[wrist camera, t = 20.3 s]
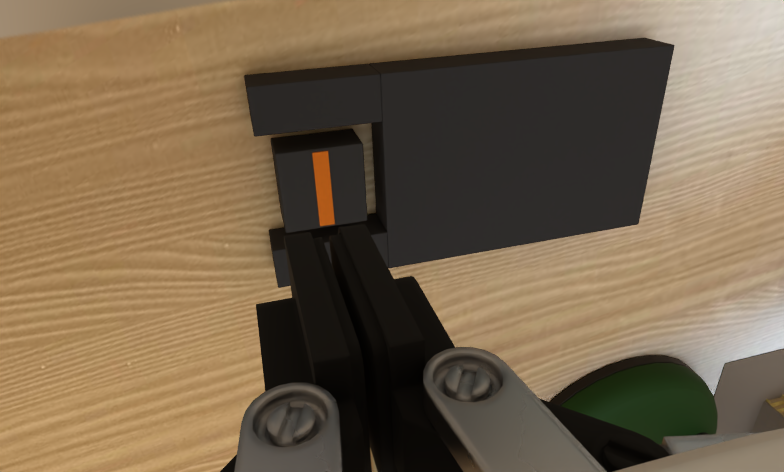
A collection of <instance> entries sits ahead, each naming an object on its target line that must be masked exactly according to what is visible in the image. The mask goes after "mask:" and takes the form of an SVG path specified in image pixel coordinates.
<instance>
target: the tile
mask: <svg viewBox="0 0 784 472" xmlns="http://www.w3.org/2000/svg"><path fill="white" fill-rule="evenodd" d="M271 145H272V152H273V159H274V166H275V173H276V180H277V187H278V194H279V201H280V208H281V214H282V218H283V222H284V227H285V231H286V233H290V232H296V231H303V230H309V229H316V228H322V227H329V226H335V225H341V224H348V223H354V222H361V221H367V204H366V188H365V172H364V156H363V144H362V142H361V141H360V139H359V138H358V136H357V135H356V133H355V132H354V131H353V129H347V130H339V131H330V132H322V133H313V134H305V135H296V136H288V137H279V138H272V139H271Z"/></svg>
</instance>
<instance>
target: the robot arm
mask: <svg viewBox="0 0 784 472" xmlns="http://www.w3.org/2000/svg"><path fill="white" fill-rule="evenodd" d="M284 242H285V249H286V256H287V263H288V270H289V277H290V284H291V291H292V297H293V298H289V299H283V300H278V301H272V302H267V303H261V304H256V310H257V319H258V328H259V337H260V346H261V355H262V364H263V373H264V382H265V392H264V393H263V394H261V395H260V396H259V397H257V398H256V399H255V400H254V401H253V402H252V403H251V404H250V406H249V407H248V408H247V410H246V411H245V414H244V417H243V420H242V423H241V430H240V437H239V444H238V451H237V455H236V456H235V457H234V458H233V459H232V460H231V461H230V462H229V463H228V464H227V465H226V466H225V467H224V468H223V469H222V470H221V471H220V472H372V467H371V454H370V448H371V452H372V455H373V458H374V462H375V465H376V468H377V472H784V428H782V429H777V430H772V431H767V432H756V433H734V434H712V435H690V436H668V437H663V441H662V444H657V443H656V442H654V441H653V440H652V439H650V438H648V437H645V436H643V435H641V434H639V433H637V432H634V431H631V430H628V429H625V428H623V427H620V426H617V425H614V424H611V423H608V422H605V421H602V420H599V419H597V418H594V417H591V416H588V415H585V414H582V413H579V412H576V411H573V410H571V409H568V408H565V407H562V406H559V405H556V404H553V403H550V402H547V401H545V400H542V399H539V398H538V397H537V396H536V395H535V394H534V393H533V392H532V391H531V390H530V389H529V388H528V387H527V385H526V384H525V383H524V382H523V381H522V380H521V379H520V378H519V377H518V376H517V375H516V374H515V373H514V371H513V370H512V369H511V368H510V367H509V366H508V365H507V364H506V363H505V362H504V361H503V360H501V359H500V358H499V357H498V356H496V355H494V354H492V353H490V352H488V351H486V350H482V349H478V348H473V347H456V348H455V346H454V345H453V343H452V341H451V339H450V338H449V336H448V334H447V332H446V331H445V329H444V327H443V326H442V324H441V322H440V320H439V319H438V317H437V315H436V313H435V312H434V310H433V308H432V307H431V305H430V303H429V301H428V300H427V298H426V296H425V294H424V293H423V291H422V289H421V288H420V286H419V284H418V282H417V281H416V279H415V278H414V277H412V276H410V277H404V278H399V279H393V277H392V275H391V273H390V271H389V269H388V267H387V265H386V264H385V262H384V260H383V258H382V256H381V254H380V252H379V250H378V248H377V246H376V244H375V242H374V240H373V238H372V236H371V234H370V232H369V230H368V229H367V227H366V225H365V224H358V225H351V226H345V227H339V228H338V235H332V236H330V237H329V242H330V252H331V262H332V264H331V262H330V259H329V256H328V253H327V250H326V247H325V244H324V242H323V239H322V237H319V238H312V235H311V232H307V233H300V234H294V235H288V236H284Z"/></svg>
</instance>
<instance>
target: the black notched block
mask: <svg viewBox="0 0 784 472" xmlns="http://www.w3.org/2000/svg"><path fill="white" fill-rule="evenodd" d="M673 50H674V45H672V44H668V43H664V42H660V41H655V40H651V39H647V38H637V39H627V40H616V41H605V42H595V43H584V44H573V45H563V46H552V47H541V48H531V49H520V50H509V51H499V52H488V53H477V54H467V55H456V56H445V57H434V58H424V59H413V60H402V61H392V62H381V63H370V64H360V65H349V66H338V67H327V68H317V69H306V70H295V71H285V72H274V73H263V74H253V75H245V76H244V78H245V85H246V91H247V97H248V103H249V110H250V116H251V122H252V127H253V132H254V136H264V135H272V134H281V133H289V132H298V131H306V130H315V129H323V128H332V127H340V126H349V125H357V124H366V123H372V138H373V157H374V176H375V195H376V214H370V215H367V221H361V222H354V223H348V224H341V225H335V226H329V227H322V228H316V229H309V230H303V231H296V232H290V233H286V231H285V228H279V229H273V230H269V235H270V242H271V248H272V254H273V261H274V267H275V272H276V278H277V283H278V287H279V288H280V287H286V286H291V284H290V277H289V270H288V263H287V256H286V249H285V242H284V236H288V235H294V234H300V233H307V232H311V235H312V238H319V237H322V239H323V242H324V244H325V247H326V250H327V253H328V256H329V259H330V262H331V252H330V242H329V237H330V236H332V235H338V228H339V227H345V226H351V225H358V224H365V225H366V227H367V229H368V230H369V232H370V234H371V236H372V238H373V240H374V242H375V244H376V246H377V248H378V250H379V252H380V254H381V256H382V258H383V260H384V262H385V264H386V265H387V267H388V268H393V267H399V266H404V265H410V264H416V263H421V262H427V261H433V260H438V259H444V258H450V257H455V256H461V255H467V254H472V253H478V252H484V251H489V250H495V249H501V248H506V247H512V246H518V245H523V244H529V243H535V242H540V241H546V240H551V239H557V238H563V237H568V236H574V235H580V234H585V233H591V232H597V231H602V230H608V229H614V228H619V227H625V226H631V225H636V224H638V223H639V218H640V214H641V209H642V204H643V199H644V194H645V189H646V184H647V179H648V174H649V169H650V164H651V159H652V154H653V149H654V144H655V139H656V134H657V129H658V124H659V119H660V114H661V109H662V104H663V99H664V94H665V90H666V85H667V80H668V75H669V70H670V65H671V60H672V55H673ZM331 264H332V262H331Z"/></svg>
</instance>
